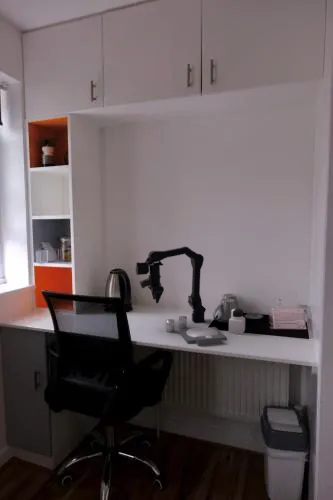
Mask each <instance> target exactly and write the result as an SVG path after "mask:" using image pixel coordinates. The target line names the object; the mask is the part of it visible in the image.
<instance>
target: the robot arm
mask: <svg viewBox="0 0 333 500" xmlns="http://www.w3.org/2000/svg"><path fill="white" fill-rule="evenodd" d="M181 255H185V256H186V257H188V258H189V260H190V265H191V267H192V275H191V276H192V277H191V278H192V279H191V294H190V295H188V297H187V299H188V300H187V303H188V305H189V306H190V308H191V310H192V313H191V320H192V322H193V323H195V324H198V323H199V324H200V323H206V320H205V313H206V310H207V309H206V307H205V306H203V305H202V304H203V303H202V302H203V301H202V297H201V294H200V293H201V292H200V290H201V270H202V267H203V265H204V261H205V260H204V259H205V258H204V256H203V255H202V254H200V253H197V252H196V251H194V250H192V249H191V248H190V247H188V246H181V247H177V248H176V247H175V248H172V249H168V250H151V251H150V252H148V256H147V258H146V260H145V261H144V262H138V261H137V262H136V264H135V274H136V276H140V275H147V274H148V273H149V275H148V277H147V278H145V279H142V280H140V281H139V285H140V287H141V289H145V288H146V287H147V288H148V289H149V290H150V292H151V295H152V299H153V300H155V303H156V304H159V302H160V300H161V297H162V295H163V293H164V291H165V288H164V287H163V285H162V282H161V278H162V277H161V276H162V275H161V269H160V268H161V266H164V263H162V262H161V261H162V260H164V259H167V258H171V257H177V256H181Z"/></svg>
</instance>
